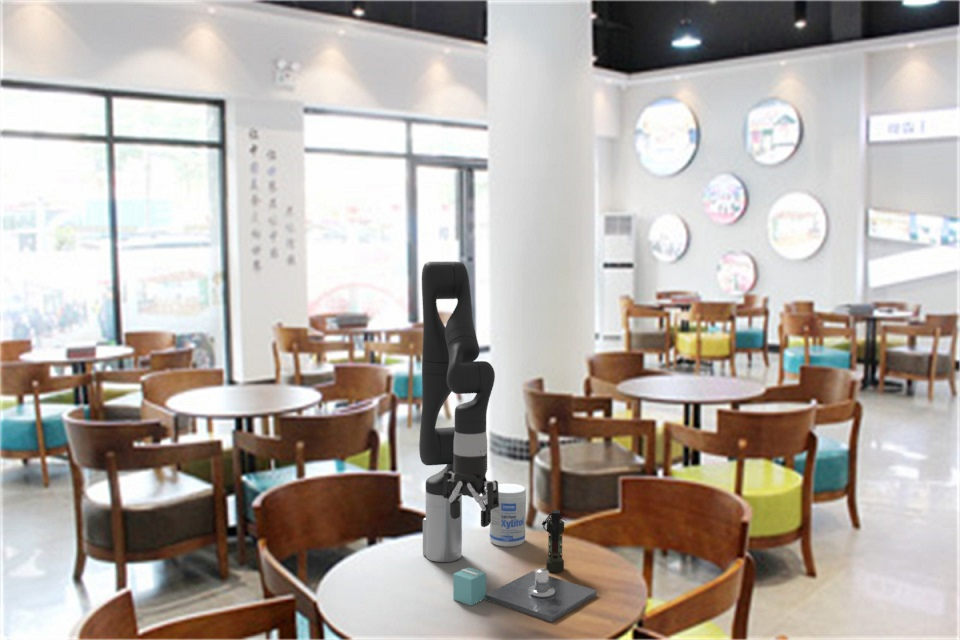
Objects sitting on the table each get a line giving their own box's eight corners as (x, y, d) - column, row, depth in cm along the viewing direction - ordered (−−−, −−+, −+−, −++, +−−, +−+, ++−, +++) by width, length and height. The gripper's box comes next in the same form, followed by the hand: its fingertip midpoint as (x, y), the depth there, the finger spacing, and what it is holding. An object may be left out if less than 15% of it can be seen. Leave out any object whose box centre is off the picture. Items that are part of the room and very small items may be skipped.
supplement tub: (503, 550, 226) (504, 495, 225) (482, 540, 234) (482, 486, 232) (532, 543, 232) (533, 489, 230) (511, 533, 239) (511, 481, 238)
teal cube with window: (453, 599, 195) (453, 572, 195) (468, 592, 199) (468, 565, 199) (471, 606, 192) (471, 578, 191) (485, 598, 196) (486, 571, 195)
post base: (485, 599, 195) (485, 572, 195) (532, 575, 209) (532, 550, 208) (551, 622, 184) (552, 593, 183) (596, 595, 198) (597, 568, 197)
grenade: (565, 576, 209) (566, 515, 207) (540, 575, 209) (541, 514, 208) (565, 566, 215) (566, 507, 214) (541, 565, 216) (542, 506, 215)
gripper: (435, 449, 194) (435, 519, 195) (484, 459, 185) (484, 533, 186) (457, 442, 200) (456, 511, 201) (506, 452, 191) (505, 524, 192)
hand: (470, 522), depth 194 cm, fingers open, 8 cm apart
